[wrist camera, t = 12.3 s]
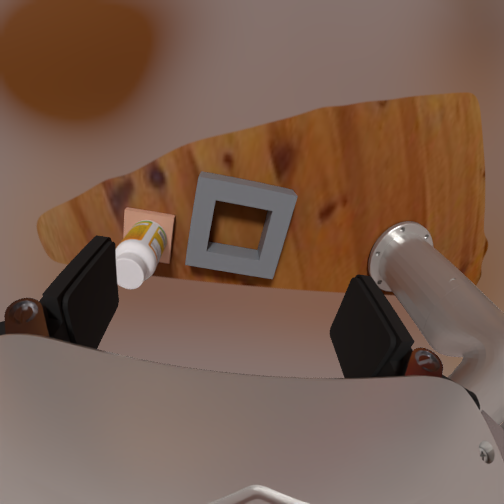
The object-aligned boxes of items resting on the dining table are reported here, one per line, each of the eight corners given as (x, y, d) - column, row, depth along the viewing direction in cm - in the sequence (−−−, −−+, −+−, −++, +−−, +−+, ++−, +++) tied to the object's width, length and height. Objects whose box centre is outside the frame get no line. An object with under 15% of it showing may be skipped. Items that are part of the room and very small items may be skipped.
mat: (175, 215, 37) (173, 217, 36) (170, 260, 40) (168, 263, 39) (127, 207, 36) (124, 209, 35) (125, 252, 39) (123, 255, 38)
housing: (292, 189, 37) (297, 196, 34) (270, 268, 42) (272, 279, 39) (201, 171, 35) (198, 176, 32) (188, 254, 40) (185, 264, 37)
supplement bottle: (124, 241, 37) (98, 279, 29) (141, 211, 36) (114, 243, 27) (156, 261, 39) (138, 302, 31) (174, 232, 37) (158, 269, 29)
